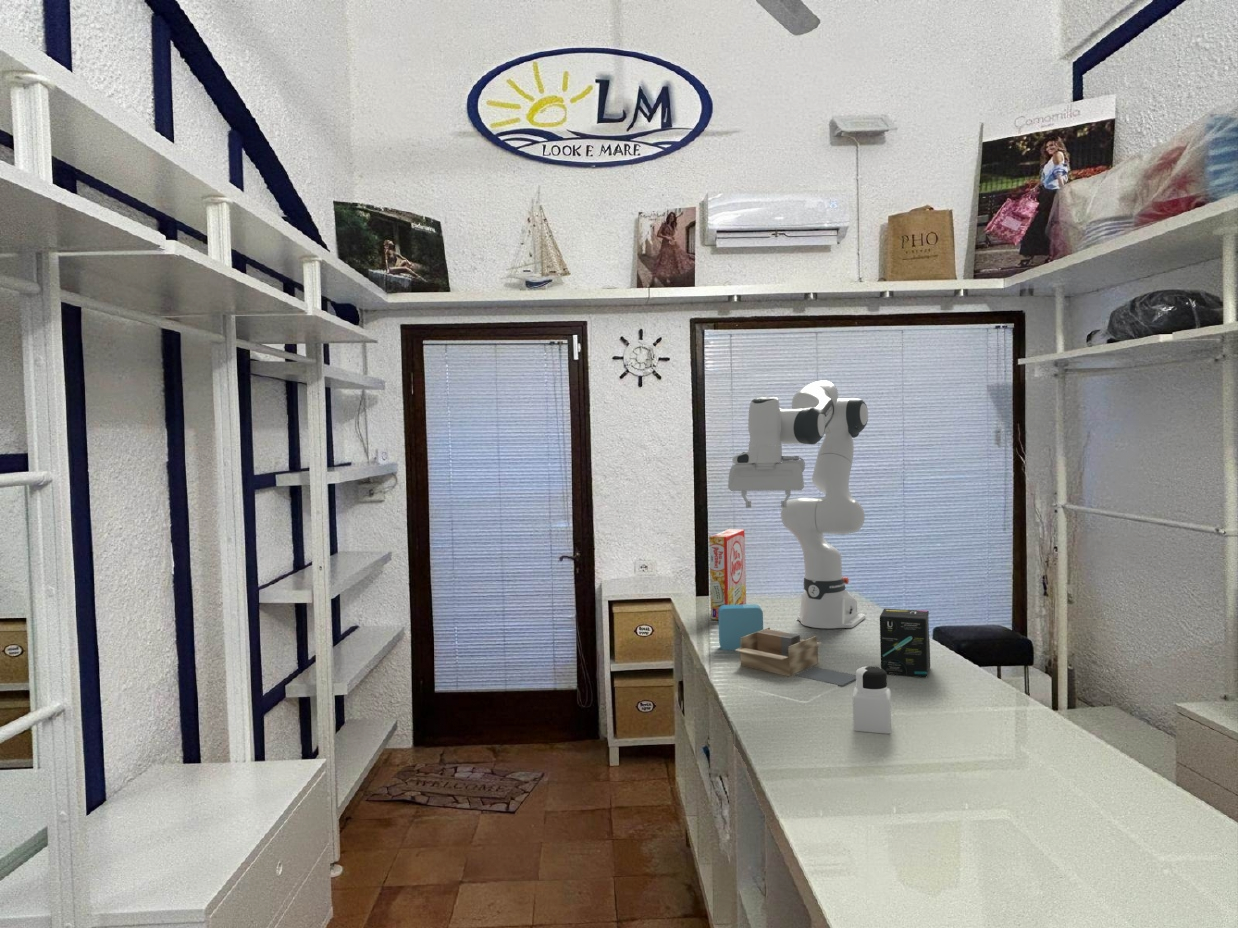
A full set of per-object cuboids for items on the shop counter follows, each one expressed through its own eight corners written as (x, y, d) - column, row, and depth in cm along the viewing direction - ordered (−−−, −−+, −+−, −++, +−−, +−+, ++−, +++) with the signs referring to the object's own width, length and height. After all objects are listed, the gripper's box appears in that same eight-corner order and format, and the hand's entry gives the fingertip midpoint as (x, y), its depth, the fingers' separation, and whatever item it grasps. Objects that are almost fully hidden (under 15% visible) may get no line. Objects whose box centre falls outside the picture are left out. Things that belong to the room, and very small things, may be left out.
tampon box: (930, 667, 203) (929, 609, 203) (927, 678, 195) (926, 618, 194) (884, 663, 208) (883, 607, 207) (880, 674, 200) (879, 615, 199)
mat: (813, 667, 206) (813, 666, 206) (860, 677, 197) (860, 675, 197) (794, 676, 200) (794, 674, 200) (842, 686, 191) (842, 685, 191)
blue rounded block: (762, 646, 228) (760, 603, 228) (764, 650, 224) (762, 607, 223) (719, 646, 229) (718, 604, 228) (720, 651, 225) (719, 608, 224)
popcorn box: (728, 621, 258) (726, 536, 257) (710, 619, 261) (707, 536, 260) (747, 607, 277) (744, 528, 276) (729, 606, 279) (727, 528, 278)
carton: (775, 652, 221) (774, 625, 221) (823, 661, 211) (822, 633, 211) (734, 668, 208) (733, 639, 208) (783, 679, 198) (782, 649, 197)
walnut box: (767, 658, 215) (767, 628, 214) (800, 665, 208) (800, 634, 207) (758, 662, 211) (757, 632, 211) (791, 669, 204) (790, 638, 204)
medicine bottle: (891, 721, 168) (889, 664, 168) (890, 734, 161) (889, 675, 161) (855, 718, 170) (853, 662, 170) (853, 731, 164) (852, 672, 163)
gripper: (804, 455, 221) (805, 506, 221) (728, 457, 224) (729, 506, 225) (805, 456, 214) (805, 508, 215) (727, 457, 218) (728, 508, 219)
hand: (766, 507), depth 220 cm, fingers open, 8 cm apart
